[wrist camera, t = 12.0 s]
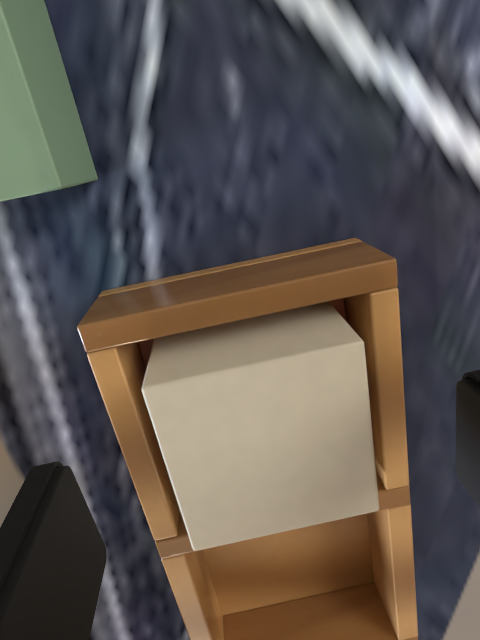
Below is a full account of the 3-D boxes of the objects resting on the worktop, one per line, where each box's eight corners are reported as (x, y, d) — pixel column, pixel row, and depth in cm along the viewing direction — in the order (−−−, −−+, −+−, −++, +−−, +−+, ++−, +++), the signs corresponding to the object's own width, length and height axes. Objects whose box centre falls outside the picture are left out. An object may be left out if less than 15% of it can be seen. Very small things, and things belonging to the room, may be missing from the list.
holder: (101, 290, 14) (75, 326, 11) (356, 236, 14) (397, 258, 11) (208, 617, 20) (210, 696, 17) (387, 577, 20) (419, 649, 17)
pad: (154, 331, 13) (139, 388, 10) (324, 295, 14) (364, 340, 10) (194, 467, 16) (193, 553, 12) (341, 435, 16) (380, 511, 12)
